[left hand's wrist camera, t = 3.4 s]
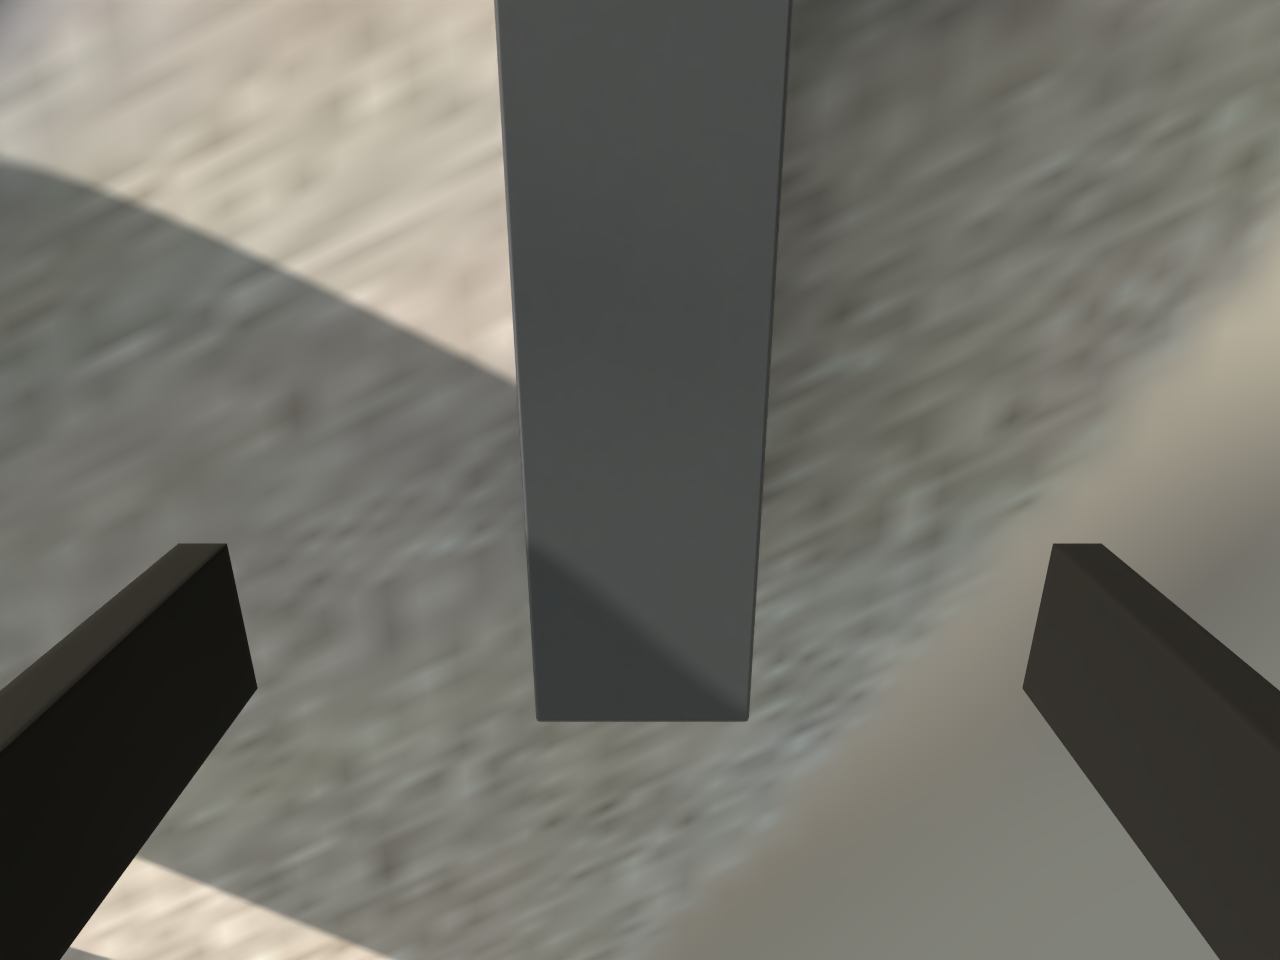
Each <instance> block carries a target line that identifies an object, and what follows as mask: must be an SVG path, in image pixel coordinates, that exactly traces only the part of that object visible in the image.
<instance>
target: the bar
mask: <svg viewBox="0 0 1280 960" xmlns="http://www.w3.org/2000/svg"><path fill="white" fill-rule="evenodd" d="M792 1H793V0H494V6H495V23H496V40H497V57H498V74H499V91H500V108H501V125H502V142H503V159H504V176H505V193H506V210H507V227H508V244H509V261H510V279H511V296H512V313H513V330H514V347H515V364H516V381H517V398H518V415H519V432H520V449H521V466H522V483H523V500H524V517H525V534H526V552H527V569H528V586H529V603H530V620H531V637H532V654H533V671H534V688H535V705H536V718H537V720H538V721H540V722H593V721H747V720H748V718H749V706H750V689H751V673H752V657H753V640H754V624H755V607H756V591H757V575H758V558H759V542H760V525H761V509H762V493H763V476H764V460H765V443H766V427H767V411H768V394H769V378H770V362H771V345H772V329H773V312H774V296H775V280H776V263H777V247H778V230H779V214H780V198H781V181H782V165H783V148H784V132H785V116H786V99H787V83H788V66H789V50H790V34H791V17H792Z"/></svg>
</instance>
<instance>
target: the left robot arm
mask: <svg viewBox="0 0 1280 960" xmlns="http://www.w3.org/2000/svg"><path fill="white" fill-rule="evenodd" d="M256 690H257V684H256V679H255V674H254V670H253V665H252V660H251V655H250V651H249V646H248V641H247V636H246V632H245V627H244V622H243V618H242V613H241V608H240V603H239V599H238V594H237V589H236V585H235V580H234V575H233V570H232V566H231V561H230V556H229V552H228V547H227V544H178V545H176V546H175V547H174V548H173V549H172V550H170V551H169V552H168V553H167V554H165V555H164V556H163V557H162V558H161V559H159V560H158V561H157V562H156V563H155V564H153V565H152V566H151V567H150V568H149V569H147V570H146V571H145V572H144V573H142V574H141V575H140V576H139V577H138V578H136V579H135V580H134V581H133V582H132V583H130V584H129V585H128V586H127V587H126V588H124V589H123V590H122V591H121V592H119V593H118V594H117V595H116V596H115V597H113V598H112V599H111V600H110V601H109V602H107V603H106V604H105V605H104V606H103V607H101V608H100V609H99V610H98V611H96V612H95V613H94V614H93V615H92V616H90V617H89V618H88V619H87V620H86V621H84V622H83V623H82V624H81V625H80V626H78V627H77V628H76V629H75V630H73V631H72V632H71V633H70V634H69V635H67V636H66V637H65V638H64V639H63V640H61V641H60V642H59V643H58V644H57V645H55V646H54V647H53V648H52V649H50V650H49V651H48V652H47V653H46V654H44V655H43V656H42V657H41V658H40V659H38V660H37V661H36V662H35V663H34V664H32V665H31V666H30V667H29V668H27V669H26V670H25V671H24V672H23V673H21V674H20V675H19V676H18V677H17V678H15V679H14V680H13V681H12V682H11V683H9V684H8V685H7V686H6V687H4V688H3V689H2V690H1V691H0V960H60V959H61V958H62V956H63V955H64V954H65V952H66V951H67V949H68V948H69V947H70V945H71V944H72V943H73V941H74V940H75V938H76V937H77V936H78V934H79V933H80V932H81V930H82V929H83V927H84V926H85V925H86V923H87V922H88V921H89V919H90V918H91V916H92V915H93V914H94V912H95V911H96V910H97V908H98V907H99V905H100V904H101V903H102V901H103V900H104V899H105V897H106V896H107V894H108V893H109V892H110V890H111V889H112V888H113V886H114V885H115V883H116V882H117V881H118V879H119V878H120V877H121V875H122V874H123V872H124V871H125V870H126V868H127V867H128V866H129V864H130V863H131V861H132V860H133V859H134V857H135V856H136V855H137V853H138V852H139V850H140V849H141V848H142V846H143V845H144V844H145V842H146V841H147V839H148V838H149V837H150V835H151V834H152V833H153V831H154V830H155V828H156V827H157V826H158V824H159V823H160V822H161V820H162V819H163V817H164V816H165V815H166V813H167V812H168V811H169V809H170V808H171V806H172V805H173V804H174V802H175V801H176V800H177V798H178V797H179V795H180V794H181V793H182V791H183V790H184V789H185V787H186V786H187V784H188V783H189V782H190V780H191V779H192V778H193V776H194V775H195V773H196V772H197V771H198V769H199V768H200V767H201V765H202V764H203V762H204V761H205V760H206V758H207V757H208V756H209V754H210V753H211V751H212V750H213V749H214V747H215V746H216V745H217V743H218V742H219V740H220V739H221V738H222V736H223V735H224V734H225V732H226V731H227V729H228V728H229V727H230V725H231V724H232V723H233V721H234V720H235V718H236V717H237V716H238V714H239V713H240V712H241V710H242V709H243V707H244V706H245V705H246V703H247V702H248V701H249V699H250V698H251V697H252V695H253V694H254V692H255V691H256ZM1023 690H1024V691H1025V692H1026V694H1027V695H1028V696H1029V698H1030V699H1031V701H1032V702H1033V703H1034V705H1035V706H1036V707H1037V709H1038V710H1039V712H1040V713H1041V714H1042V716H1043V717H1044V718H1045V720H1046V721H1047V723H1048V724H1049V725H1050V727H1051V728H1052V729H1053V731H1054V732H1055V734H1056V735H1057V736H1058V738H1059V739H1060V740H1061V742H1062V743H1063V745H1064V746H1065V747H1066V749H1067V750H1068V751H1069V753H1070V754H1071V756H1072V757H1073V758H1074V760H1075V761H1076V762H1077V764H1078V765H1079V767H1080V768H1081V769H1082V771H1083V772H1084V773H1085V775H1086V776H1087V778H1088V779H1089V780H1090V782H1091V783H1092V784H1093V786H1094V787H1095V789H1096V790H1097V791H1098V793H1099V794H1100V795H1101V797H1102V798H1103V800H1104V801H1105V802H1106V804H1107V805H1108V806H1109V808H1110V809H1111V811H1112V812H1113V813H1114V815H1115V816H1116V817H1117V819H1118V820H1119V822H1120V823H1121V824H1122V826H1123V827H1124V828H1125V830H1126V831H1127V833H1128V834H1129V835H1130V837H1131V838H1132V839H1133V841H1134V842H1135V844H1136V845H1137V846H1138V848H1139V849H1140V850H1141V852H1142V853H1143V855H1144V856H1145V857H1146V859H1147V860H1148V861H1149V863H1150V864H1151V866H1152V867H1153V868H1154V870H1155V871H1156V872H1157V874H1158V875H1159V877H1160V878H1161V879H1162V881H1163V882H1164V883H1165V885H1166V886H1167V888H1168V889H1169V890H1170V892H1171V893H1172V894H1173V896H1174V897H1175V899H1176V900H1177V901H1178V903H1179V904H1180V905H1181V907H1182V908H1183V910H1184V911H1185V912H1186V914H1187V915H1188V916H1189V918H1190V919H1191V921H1192V922H1193V923H1194V925H1195V926H1196V927H1197V929H1198V930H1199V932H1200V933H1201V934H1202V936H1203V937H1204V938H1205V940H1206V941H1207V943H1208V944H1209V945H1210V947H1211V948H1212V949H1213V951H1214V952H1215V954H1216V955H1217V956H1218V958H1219V959H1220V960H1280V691H1279V690H1278V689H1277V688H1275V687H1274V686H1273V685H1272V684H1271V683H1269V682H1268V681H1267V680H1266V679H1265V678H1263V677H1262V676H1261V675H1260V674H1259V673H1257V672H1256V671H1255V670H1254V669H1253V668H1251V667H1250V666H1249V665H1248V664H1246V663H1245V662H1244V661H1243V660H1242V659H1240V658H1239V657H1238V656H1237V655H1236V654H1234V653H1233V652H1232V651H1231V650H1230V649H1228V648H1227V647H1226V646H1225V645H1223V644H1222V643H1221V642H1220V641H1219V640H1217V639H1216V638H1215V637H1214V636H1213V635H1211V634H1210V633H1209V632H1208V631H1206V630H1205V629H1204V628H1203V627H1202V626H1200V625H1199V624H1198V623H1197V622H1196V621H1194V620H1193V619H1192V618H1191V617H1189V616H1188V615H1187V614H1186V613H1185V612H1184V611H1182V610H1181V609H1180V608H1179V607H1177V606H1176V605H1175V604H1174V603H1173V602H1171V601H1170V600H1169V599H1168V598H1166V597H1165V596H1164V595H1163V594H1162V593H1160V592H1159V591H1158V590H1157V589H1156V588H1154V587H1153V586H1152V585H1151V584H1150V583H1148V582H1147V581H1146V580H1145V579H1144V578H1142V577H1141V576H1140V575H1139V574H1138V573H1136V572H1135V571H1134V570H1133V569H1131V568H1130V567H1129V566H1128V565H1127V564H1125V563H1124V562H1123V561H1122V560H1121V559H1119V558H1118V557H1117V556H1116V555H1114V554H1113V553H1112V552H1111V551H1110V550H1108V549H1107V548H1106V547H1105V546H1104V545H1102V544H1053V547H1052V552H1051V556H1050V561H1049V566H1048V570H1047V575H1046V580H1045V585H1044V589H1043V594H1042V599H1041V603H1040V608H1039V613H1038V618H1037V622H1036V627H1035V632H1034V636H1033V641H1032V646H1031V651H1030V655H1029V660H1028V665H1027V670H1026V674H1025V679H1024V684H1023Z"/></svg>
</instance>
